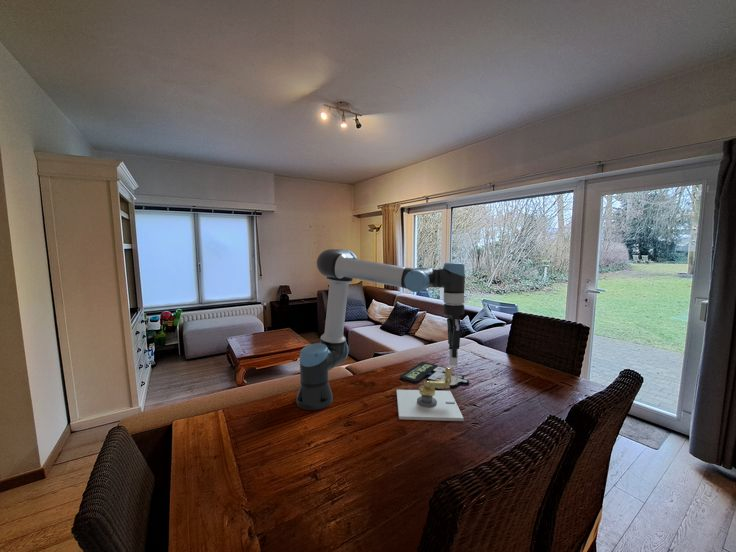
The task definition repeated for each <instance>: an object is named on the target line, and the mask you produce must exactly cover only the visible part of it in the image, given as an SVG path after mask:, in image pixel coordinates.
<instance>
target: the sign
mask: <svg viewBox="0 0 736 552" xmlns="http://www.w3.org/2000/svg"><path fill="white" fill-rule="evenodd" d="M399 379H400V381H403V382H407V383H410V384H414V385H415V384H416V385H417V384H419V383H420V382H422V381H424V380H425V379H426V380H425V381H445V366H441V365H437V364H434V363H430V362H426V361H421V362H419V363H418V364H416V365H414V366H413V367H411V368H410V369H408V370H407V371H405V372H403V373H402V374H400V375H399ZM469 385H470V380H468V379H465V377H464V376H463V375H461V374H451V383H450V388H449V389H457V388H458V387H460V386H469ZM447 389H448V388H435V390H436V391H448V390H447Z"/></svg>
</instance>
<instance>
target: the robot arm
mask: <svg viewBox="0 0 736 552" xmlns="http://www.w3.org/2000/svg"><path fill="white" fill-rule="evenodd" d="M316 268H317V270H318V271H319V273H320V274H321V275H323V276H324V277H326V280H327V281H328V282H329V285H328V295H327V303H326V304H327V305H326V316H325V325H324V333H323V334H321V336H320V341H319V342H316V343H312V344H308V345H306V346H304V347H303V348H302V349H301V350H300V353H299V375H300V376H299V377H300V380H299V381H300V385H299V389H298V392H297V395H296V406H297V407H298V408H299V409H302V410H305V411H319V410H322V409H325V408H327V407H328V406H330V405H332V403H333V401H334V400H333V399H334V398H333V397H334V396H333V392H332V389H331V386H330V383H329V371H331V370H332V369H334V368H335V367H337V366H339V365H341V364H342V363H344V361H345V360H346V359H347V357H348V355H349V353H350V352H349V345H348V343H347V338H346V336H345V335H344V329H345V321H346V313H347V312H346V310H347V303H348V295H349V294H348V293H349V285H350V284H351V283H352V282H353V281H354V279H355V280H360V281H364V282H365V281H366V282H369V283H375V284H376V283H377V284H381V285H386V286H392V287H396V288H397V287H398V288H402V289H407V290H408V291H409V292H413V293H420V292H423V291H426V290H427V289H429V288H443V303H444V304H443V314H444V315H447V316H448V317H447V318H446V324H447V343H448V345H449V347H448V350H449V351H448V352H449V353H448V355H449V357H448V358H449V359H448V363H449V367H452V366H458V358H459V357H458V354H459V353H458V350H459V349H460V342H461V332H462V327H463V326H462V324H461V319H460V316H463V315H464V314H465V305H464V303H465V298H466V297H467V295H466V294H465V287H466V286H465V281H466V274H465V264H464V263H462V262H445V263H444V265H443V267H415V268H412V267H406V266H400V265H394V264H388V263H381V262H377V261H376V262H375V261H371V260H363V259H358V257H357V256H356V254H355V253H354V252H353V251H352V250H348V249H346V248H344V249H343V248H340V249H339V248H338V249H337V248H336V249H335V248H328V249H326V250H323V251H322V252H321V253H319V255H318V256H317V259H316Z"/></svg>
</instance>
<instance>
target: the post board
mask: <svg viewBox="0 0 736 552" xmlns="http://www.w3.org/2000/svg"><path fill="white" fill-rule="evenodd" d="M396 399H397V412H398V420H410V421H413V420H415V421H444V422H445V421H447V422H448V421H449V422H464V420H465V419H464V416H463V414H462V412H461V410H460V408H459V406H458V403H457V402H456V399H455V397H454V395H453V393H452V392H451V390H447V391H436V390H435V395H434V396H431V397H427V396H423V395H421V394H420V393H419V389H396Z"/></svg>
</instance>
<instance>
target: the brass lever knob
mask: <svg viewBox="0 0 736 552" xmlns="http://www.w3.org/2000/svg"><path fill="white" fill-rule="evenodd" d="M444 367H445V366H444ZM451 375H452V366H446V367H445V381H426V380H423V384H421V385H420V386H419V387H418V390H419V393H420V394H421V395H423V396H427V397H431V396H434V395H435V388H445V389H451V388H450V383H451Z"/></svg>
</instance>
